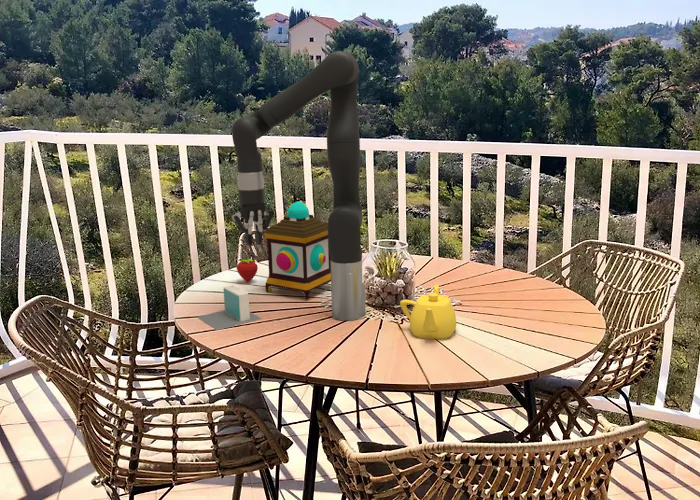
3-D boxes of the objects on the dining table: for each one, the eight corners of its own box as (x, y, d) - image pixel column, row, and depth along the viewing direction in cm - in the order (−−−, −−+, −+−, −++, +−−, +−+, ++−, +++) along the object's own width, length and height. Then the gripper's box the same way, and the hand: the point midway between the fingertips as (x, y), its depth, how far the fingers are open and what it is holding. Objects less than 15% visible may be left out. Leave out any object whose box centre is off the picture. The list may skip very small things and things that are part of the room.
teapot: (405, 315, 195) (405, 280, 193) (458, 318, 192) (459, 283, 189) (393, 344, 175) (393, 305, 172) (452, 348, 171) (453, 308, 169)
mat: (240, 307, 205) (240, 306, 205) (262, 319, 194) (262, 318, 194) (196, 318, 197) (196, 316, 197) (217, 331, 186) (217, 330, 186)
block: (234, 310, 202) (232, 285, 200) (249, 319, 194) (248, 293, 192) (224, 312, 200) (222, 287, 198) (240, 321, 192) (238, 295, 190)
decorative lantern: (308, 303, 208) (305, 209, 201) (259, 293, 218) (254, 204, 211) (342, 286, 225) (340, 198, 217) (295, 278, 235) (291, 194, 227)
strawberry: (241, 279, 234) (239, 252, 232) (261, 280, 232) (259, 253, 230) (234, 284, 229) (232, 256, 226) (254, 285, 227) (253, 257, 224)
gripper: (235, 191, 185) (239, 251, 189) (278, 185, 193) (281, 243, 197) (223, 188, 190) (227, 246, 195) (265, 183, 198) (268, 239, 203)
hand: (254, 244), depth 196 cm, fingers closed
